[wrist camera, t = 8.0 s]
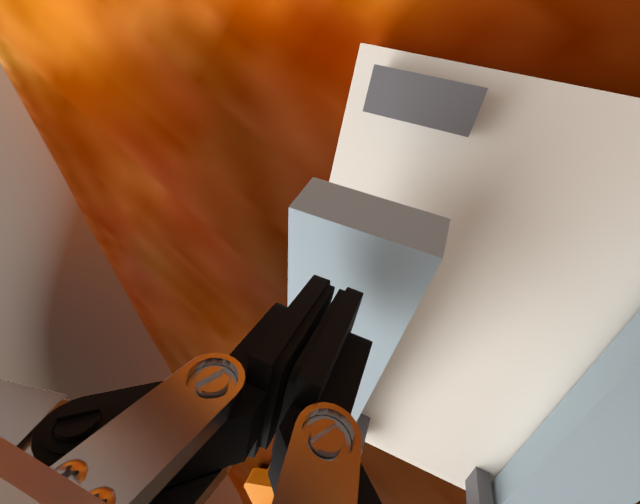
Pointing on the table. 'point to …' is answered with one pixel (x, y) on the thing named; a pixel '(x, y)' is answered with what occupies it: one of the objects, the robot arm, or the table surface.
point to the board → (494, 249)
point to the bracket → (259, 486)
